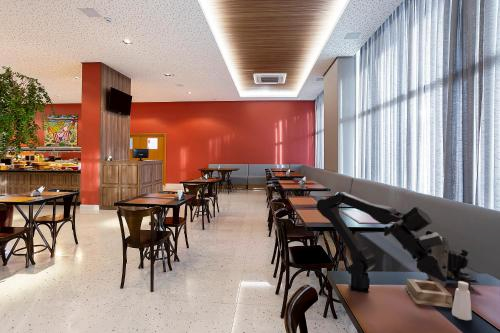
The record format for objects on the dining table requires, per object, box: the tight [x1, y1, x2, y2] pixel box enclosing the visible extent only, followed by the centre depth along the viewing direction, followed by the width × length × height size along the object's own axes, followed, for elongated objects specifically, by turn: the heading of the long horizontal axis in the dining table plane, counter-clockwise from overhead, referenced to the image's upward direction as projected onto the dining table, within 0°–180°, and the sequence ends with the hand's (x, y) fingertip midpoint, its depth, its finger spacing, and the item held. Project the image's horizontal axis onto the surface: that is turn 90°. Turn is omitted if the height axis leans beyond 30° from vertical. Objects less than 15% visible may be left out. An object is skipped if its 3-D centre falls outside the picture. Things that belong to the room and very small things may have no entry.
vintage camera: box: [426, 234, 480, 288], centre depth 116 cm, size 10×15×20 cm, turn 79°
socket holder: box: [404, 278, 453, 309], centre depth 105 cm, size 12×12×4 cm
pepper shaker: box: [451, 281, 473, 321], centre depth 93 cm, size 5×5×11 cm
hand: (442, 275), depth 95 cm, fingers open, 9 cm apart
